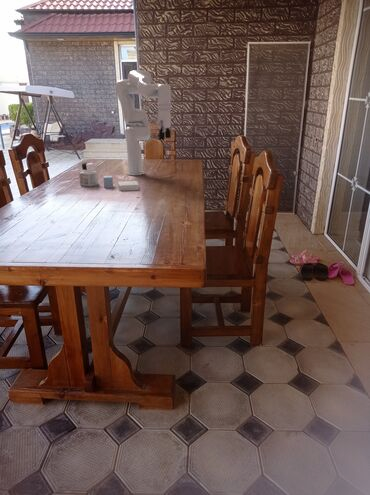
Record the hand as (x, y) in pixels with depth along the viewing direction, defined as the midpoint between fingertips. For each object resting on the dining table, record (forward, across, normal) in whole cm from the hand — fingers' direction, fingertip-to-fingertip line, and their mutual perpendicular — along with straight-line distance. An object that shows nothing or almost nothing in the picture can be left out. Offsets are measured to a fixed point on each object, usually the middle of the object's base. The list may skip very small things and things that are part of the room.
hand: (165, 138), depth 218 cm
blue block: (+27, +19, -29) cm, 44 cm away
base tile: (+26, +19, -16) cm, 36 cm away
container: (+27, +18, -42) cm, 53 cm away
